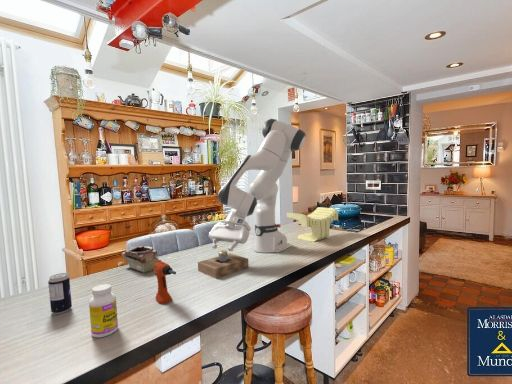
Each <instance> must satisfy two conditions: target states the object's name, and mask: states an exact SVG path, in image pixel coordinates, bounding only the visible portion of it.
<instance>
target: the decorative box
mask: <svg viewBox="0 0 512 384" xmlns="http://www.w3.org/2000/svg"><path fill="white" fill-rule="evenodd" d="M156 256H158V250H156V249H155V250H154V247H152V246H148V245H147V246H146V245H142V246H141V245H140V246H134V247H130V248H129V249H128V250H124V251H123V252H122V253H121V257H122V258H123V259H124V260H125V261H126V263H127V264H128V266H129V267H130V268H131V269H133V270H135V271H139V272H142V273H147V272H152V271H153V270H154V265H155V263H156V262H157V261H158V260H160V259H159V257H156Z"/></svg>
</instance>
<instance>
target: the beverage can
mask: <svg viewBox="0 0 512 384" xmlns="http://www.w3.org/2000/svg"><path fill="white" fill-rule="evenodd" d="M70 282H71V281H70V276H69V275H68V273H67V272H61V273H60V272H59V273H57V274H53V275H51V276H49V278H48V282H47V283H48V294H49V303H50V304H49V305H50V312H51V313H53V314H54V315H60V314H64V313H66V312H68V311H70V309H71V308H72V306H73V305H72V294H71V293H72V292H71V284H70Z"/></svg>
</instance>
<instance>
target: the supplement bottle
mask: <svg viewBox="0 0 512 384" xmlns="http://www.w3.org/2000/svg"><path fill="white" fill-rule="evenodd" d="M91 290H92V291H91V292H92V295H93V296H92V297H90V299H89V301H88V307H89V318H90V319H89V320H90V332H91V335H92V336H93V337H95V338H104V337H108V336H110V335H113V334H114V333H115V332H116V331H118V328H119V324H118V323H119V322H118V310H117V308H118V307H117V296H116V294H115V293H113V292H112V290H113V289H112V285H111V284H109V283H105V284H104V283H103V284H99V285H96V286H94V287H93V288H92V289H91Z"/></svg>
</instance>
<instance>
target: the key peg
mask: <svg viewBox="0 0 512 384" xmlns="http://www.w3.org/2000/svg"><path fill="white" fill-rule="evenodd" d="M227 254H228V251H227V250H220V251H218V256H219V263H225V262H228V255H227Z"/></svg>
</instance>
